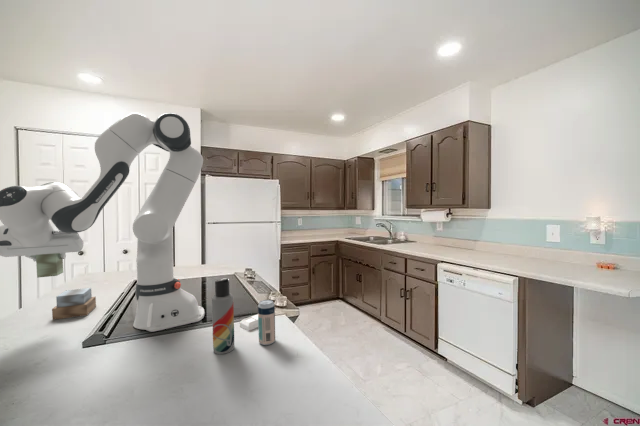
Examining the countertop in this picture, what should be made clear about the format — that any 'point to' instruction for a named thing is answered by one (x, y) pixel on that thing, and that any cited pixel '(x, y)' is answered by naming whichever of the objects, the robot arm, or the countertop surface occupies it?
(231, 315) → the lotion bottle
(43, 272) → the green brick
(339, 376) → the countertop surface
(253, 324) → the soap bar
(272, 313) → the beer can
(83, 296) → the pedestal
